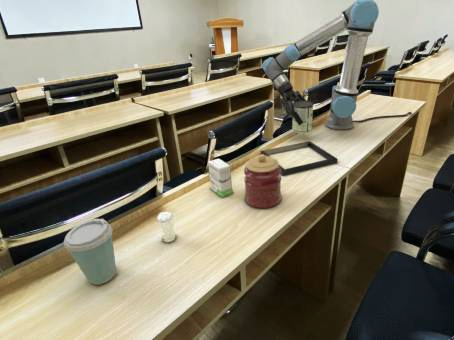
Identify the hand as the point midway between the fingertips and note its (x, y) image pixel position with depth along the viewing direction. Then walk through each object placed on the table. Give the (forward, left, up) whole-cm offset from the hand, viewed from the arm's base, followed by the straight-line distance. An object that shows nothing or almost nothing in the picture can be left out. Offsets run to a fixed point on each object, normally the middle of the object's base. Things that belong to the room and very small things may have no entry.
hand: (307, 121), depth 156 cm
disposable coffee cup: (+96, +56, -11) cm, 112 cm away
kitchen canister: (+43, +41, -11) cm, 61 cm away
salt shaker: (+78, +49, -11) cm, 93 cm away
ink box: (+55, +29, -11) cm, 63 cm away
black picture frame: (+15, +17, -10) cm, 25 cm away
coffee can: (+1, -3, -6) cm, 6 cm away
